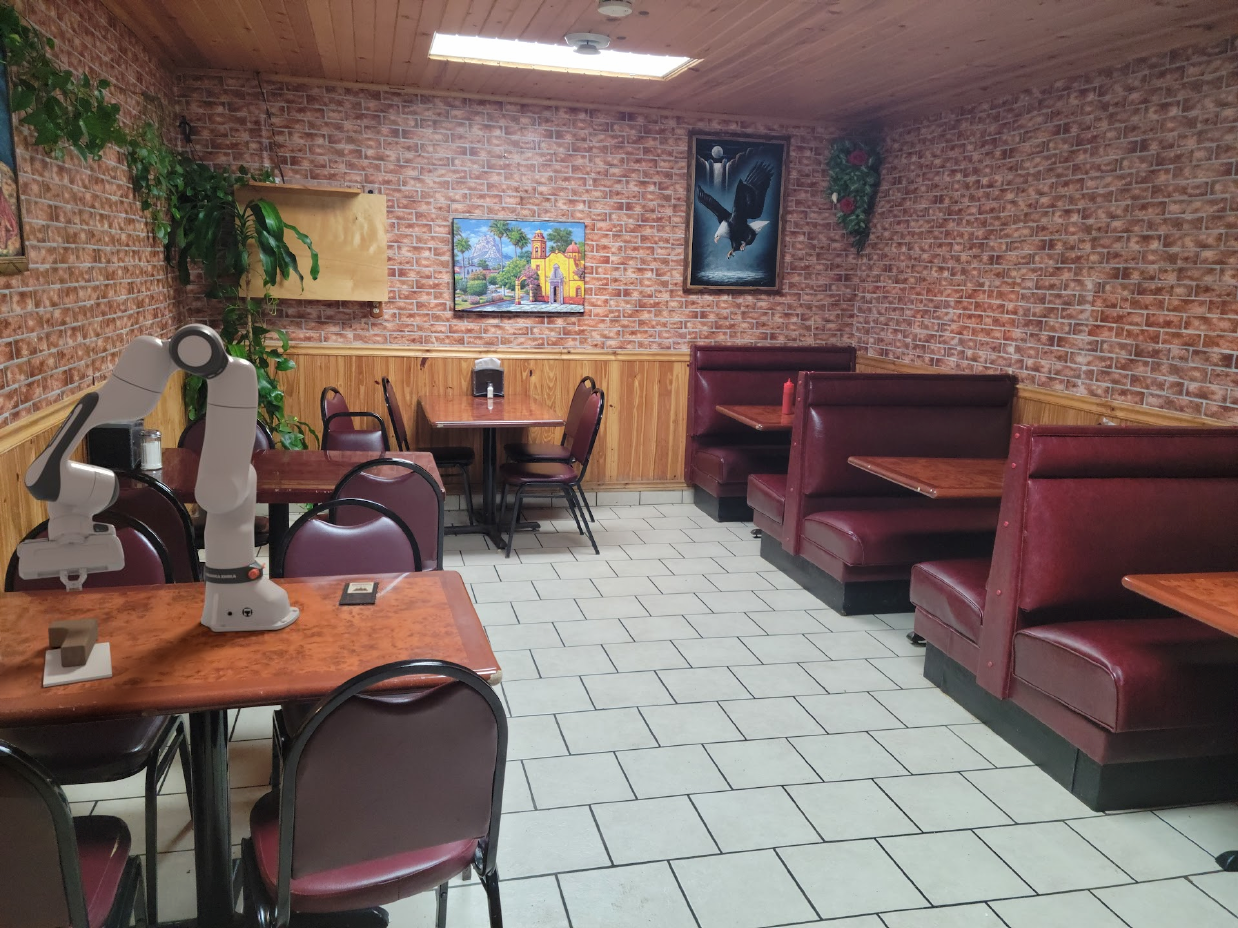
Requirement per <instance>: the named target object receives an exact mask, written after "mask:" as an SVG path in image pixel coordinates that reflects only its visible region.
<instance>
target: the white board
mask: <svg viewBox="0 0 1238 928" xmlns="http://www.w3.org/2000/svg"><path fill="white" fill-rule="evenodd" d="M110 646H111V645H110V642H108V641H107V642H101V643H95V644H94V647H93V649H92V651H91V654H90V656H89V658H88V661H87V663H86V665H81V666H71V667H62V663H61V650H60V648H57V649H48V650H46V651H45V662H44V671H43V684H42V686H43V688H46V687H47V688H48V687H55V686H60V685H67V684H74V683H78V682H86V681H94V680H99V679H107V678H111V677H113V670H112V669H113V668H112V660H111V659H112V658H111V657H112V656H111V648H110Z"/></svg>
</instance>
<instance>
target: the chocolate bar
mask: <svg viewBox="0 0 1238 928" xmlns="http://www.w3.org/2000/svg"><path fill="white" fill-rule="evenodd" d="M378 585H379V586H380V582H377V581H375V582H371V581H370V582H345V583H344V587H343V589H342V592H341V595H340V599H339V601H338V606H339V605H348V606H365V605H364V604H375V605H376V601H375V600H377V596H376V594H377V595H378V591H377V589H379V586H378ZM360 604H362V605H360Z"/></svg>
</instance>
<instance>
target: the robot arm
mask: <svg viewBox="0 0 1238 928" xmlns="http://www.w3.org/2000/svg"><path fill="white" fill-rule="evenodd" d="M116 362H117V363H115V366H114V367H113V370H112V372H111V374H110V376H109V377H108V379H107V380H106V382H105V383H104V384H103V385H101V386H100V387H99V388H98V389H96V390H94V391H91V392H87V393H85V394H84V395H83V396H82V397H80V399H79V400H78V401H77V403H76V404H75V405H74V406H73V408H71V411H70V412H69V413H68V415H67V416H66V418H65V419H64V421H63V422H62V423H61V425H60V426H59V428H58V429H57V430H56V432H55V434H53V435H54V436H52V438H51V439H50V441H49V442H48V444H47V445H46V446H45V447H44V449H43V450H42V451H41V452H40V454H39V455H38V456H37V457H36V458H35V459H34V460H33V462H31V464H30V465H29V467H28V469H27V470H26V473H25V475H24V486H25V488H26V490H27V491H28V493H29V494H30V495H31V496H32V497H33V498H34V499H35V500H36V501H39V502H40V501H41V502H42V501H43V502H47V507H46V508H47V513H48V516H49V520H48V523H47V524H48V525H47V530H48V531H47V532H48V537H43V538H36V539H25V540H24V541H22V542H20V543H19V544H17V547H16V554H17V556H18V558H19V561H18V575H19V577H20V578H21V579H23V580H35V579H45V578H53V577H56V578H57V577H59V578H60V581H61V582H62V583H63V584H64V585H65V587H66V593H68V592H78V591H83V587H82V585H83V583H84V582H85V581H86V579H87V577H88V574H94V573H102V572H104V573H105V572H111V571H112V572H113V571H114V572H115V571H120V570H123V568H124V567H125V555H124V554H125V553H124V550H123V546H122V542H121V540H120V538H119V537H118V536H117V531H116V528H115V526H114V525H113V524H109V523H102V522H98V521H97V522H96V521H93V516H94V515H98V514H100V513H102V512H104V510H105V511H106V510H107V509H108V508H111V506H112V505H114V504H115V502H117V500H118V497H119V495H120V483H119V479H118V477H117V474H116V473H115V472H114V470H112V469H109V468H105V467H101V466H97V465H94V464H87V463H84V462H79V461H74V460H71V459H70V457H71V455H73V453H74V452H75V450H76V449H77V447H78V446H79V444H80V443H81V442H82V440H83V439H84V437H85V436H86V434H87V433H88V432H89V431H90V430H91V429H93V428H94V427H96V426H97V427H98V426H99V425H103V424H107V423H122V422H125V423H126V422H132V421H138V420H140V419H143V418H145V417H147V416H149V415H150V414H152V412H153V411H154V410H155V409H156V408H157V406H158V404H159V402H160V400H161V397H162V396H163V393H164V391H165V388H166V386H167V384H168V382H169V380H170V379H171V377H172V376H173V374H175V372H178V371H181V370H182V371H184V372H186V373H189V374H191V375H194V376H197V377H200V378H202V379H205V380H206V382H207V399H206V401H207V402H206V415H205V430H204V437H203V445H202V450H201V454H200V460H199V465H198V471H197V475H196V476H197V477H196V483H195V488H194V498H195V501H196V502H197V504H198V505H199V506H200V508H201V509H203V510H205V511H206V512H207V513H206V521H205V522H206V523H205V527H204V534H203V535H204V538H203V539H204V554H205V555H204V557H205V559H204V561H205V563H204V564H203V581H204V587H205V594H204V595H205V596H204V603H203V605H204V606H203V609H202V615H201V618H200V623H201V624H202V625H204V626H205V627H208V628H209V629H210V630H211V631H212V632H217V633H218V632H219V633H220V632H243V631H245V632H246V631H247V632H248V631H267V630H268V631H269V630H270V631H271V630H275V631H276V630H281V629H284V628H286V627H288V626H290V625H291V624H293V623H294V622H296V620H298V618H299V617H300V609H299V608H298V607H295V606H291V604H290V599H289V596H288V592H287V591H286V590H285V589H284V588H282V587H281V586H279V585H278V584H276V583H275V582H273V581H272V580H270V579H269V578H268V577H265V576H264V569H265V568H266V566H265V565H266V563H263V564H260V563H259V562H258V561H257V560H256V557H255V553H256V552H255V550H256V549H255V519H256V508H257V507H256V505H257V484H258V483H257V482H258V475H257V471H256V469H255V467H254V465H253V464H252V463H251V462H252V456H253V451H254V446H255V441H256V436H257V435H256V434H257V421H258V406H259V383H258V375H257V369H256V367H255V366H254V364H253V363H251V361H249V360H247V359H245V358H241V357H237V356H236V357H235V356H232V355H229V354H228V353H227V351H226V350H225V347H224V343H223V339H222V336H221V335H220V334H219V333H218V331H216V330H215V329H214V328H213V327H210V326H208V325H205V324H202V323H191V324H187V325H184V326H182V327H180V328H179V329H178V330H176V332H175V333H173V334H172V335H171V336H169V337H168V338H166V339H163V338H159V337H156V336H153V335H139V336H135V337H134V338H132V340H131V341H130V342H129V343H128V344H127V347H125V349H124V350H123V351H122V354H121V355H120V357H119V359H118V361H116ZM72 575H73V576H75V575H79V578H78V579H77V580H69V579H68V578H69V577H68V576H72Z"/></svg>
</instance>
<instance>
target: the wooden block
mask: <svg viewBox="0 0 1238 928" xmlns="http://www.w3.org/2000/svg"><path fill="white" fill-rule="evenodd" d="M98 623H99V622H98V619H97V618H96V617H95V618H94V617H93V618H81V619H69V620H61V621H60V620H58V621H52V622H50V625H49V627H48V628H47V635H48V645H49V647H50V648H51V647H52V648H53V647H54V648H57V647H60V648H59V649H60V650H61V663H62V667H71V666H81V665H86V663H87V661H88V658H89V656H90V654H91V651H92V649H93V647H94V644H96V642H97V640H98V637H99V624H98Z"/></svg>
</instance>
